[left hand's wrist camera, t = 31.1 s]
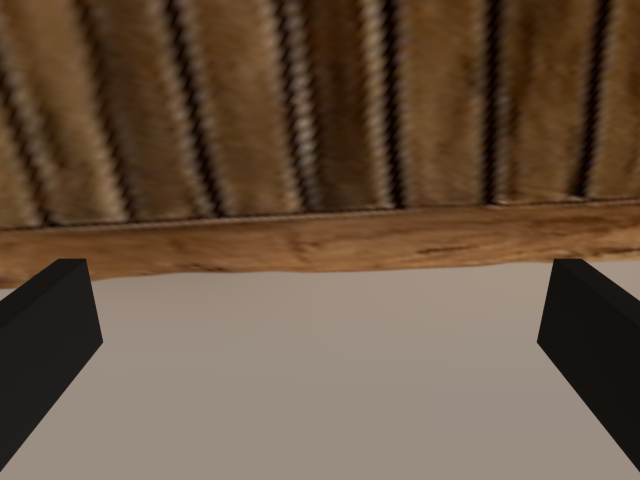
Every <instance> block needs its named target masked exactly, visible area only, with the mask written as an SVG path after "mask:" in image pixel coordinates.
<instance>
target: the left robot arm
mask: <svg viewBox="0 0 640 480" xmlns="http://www.w3.org/2000/svg"><path fill="white" fill-rule="evenodd" d="M102 343H103V339H102V334H101V330H100V325H99V320H98V315H97V310H96V305H95V300H94V296H93V291H92V286H91V281H90V276H89V271H88V267H87V262H86V259H57V260H56V261H55V262H53V263H52V264H51V265H49V266H48V267H46V268H45V269H44V270H42V271H41V272H40V273H38V274H37V275H35V276H34V277H33V278H31V279H30V280H29V281H27V282H26V283H24V284H23V285H22V286H20V287H19V288H17V289H16V290H15V291H13V292H12V293H11V294H9V295H8V296H7V297H5V298H4V299H2V300H1V301H0V472H1V470H2V469H3V468H4V467H5V465H6V464H7V463H8V462H9V460H10V459H11V458H12V457H13V455H14V454H15V453H16V452H17V450H18V449H19V448H20V447H21V445H22V444H23V443H24V441H25V440H26V439H27V438H28V436H29V435H30V434H31V433H32V431H33V430H34V429H35V428H36V426H37V425H38V424H39V423H40V421H41V420H42V419H43V418H44V416H45V415H46V414H47V413H48V411H49V410H50V409H51V407H52V406H53V405H54V404H55V402H56V401H57V400H58V399H59V397H60V396H61V395H62V394H63V392H64V391H65V390H66V388H67V387H68V386H69V385H70V383H71V382H72V381H73V380H74V378H75V377H76V376H77V375H78V373H79V372H80V371H81V370H82V368H83V367H84V366H85V365H86V363H87V362H88V361H89V360H90V358H91V357H92V356H93V354H94V353H95V352H96V351H97V349H98V348H99V347H100V346H101V344H102ZM537 343H538V344H539V346H540V347H541V348H542V349H543V351H544V352H545V353H546V355H547V356H548V357H549V358H550V359H551V361H552V362H553V363H554V365H555V366H556V367H557V368H558V370H559V371H560V372H561V373H562V375H563V376H564V377H565V378H566V380H567V381H568V382H569V384H570V385H571V386H572V387H573V389H574V390H575V391H576V392H577V394H578V395H579V396H580V397H581V399H582V400H583V401H584V402H585V404H586V405H587V406H588V407H589V409H590V410H591V411H592V413H593V414H594V415H595V416H596V418H597V419H598V420H599V421H600V423H601V424H602V425H603V426H604V428H605V429H606V430H607V431H608V433H609V434H610V435H611V436H612V438H613V439H614V440H615V442H616V443H617V444H618V445H619V447H620V448H621V449H622V450H623V452H624V453H625V454H626V455H627V457H628V458H629V459H630V460H631V462H632V463H633V464H634V465H635V467H636V468H637V469H638V471H639V472H640V301H639V300H638V299H636V298H635V297H634V296H632V295H631V294H629V293H628V292H627V291H625V290H624V289H623V288H621V287H620V286H618V285H617V284H616V283H614V282H613V281H611V280H610V279H609V278H607V277H606V276H605V275H603V274H602V273H600V272H599V271H598V270H596V269H595V268H594V267H592V266H591V265H589V264H588V263H587V262H585V261H584V260H583V259H554V262H553V267H552V272H551V276H550V281H549V286H548V291H547V296H546V300H545V305H544V310H543V315H542V320H541V325H540V329H539V334H538V339H537Z"/></svg>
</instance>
